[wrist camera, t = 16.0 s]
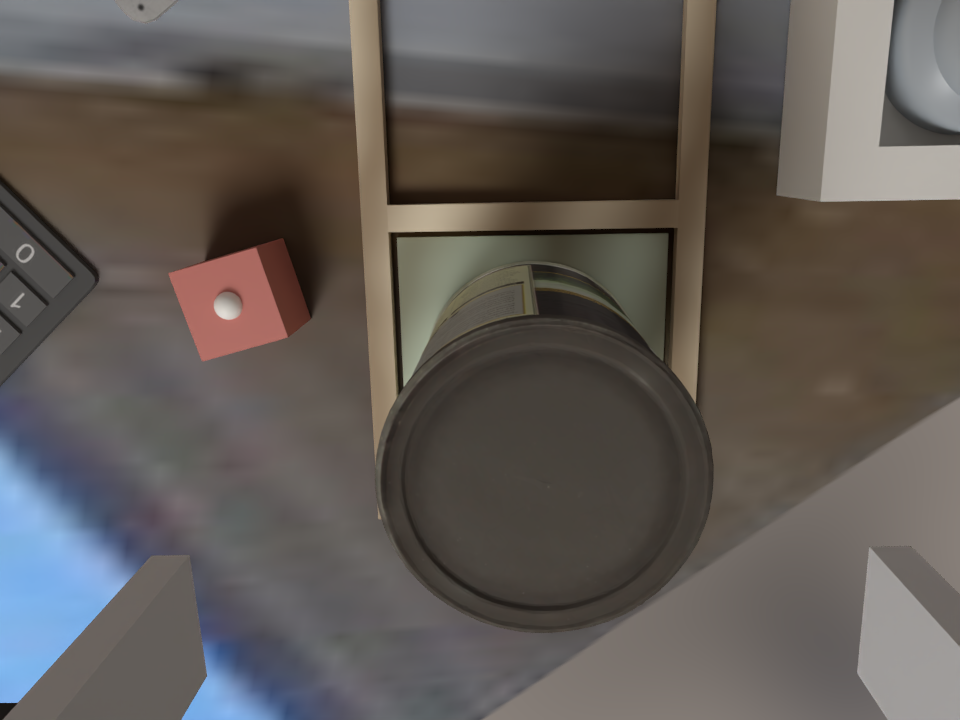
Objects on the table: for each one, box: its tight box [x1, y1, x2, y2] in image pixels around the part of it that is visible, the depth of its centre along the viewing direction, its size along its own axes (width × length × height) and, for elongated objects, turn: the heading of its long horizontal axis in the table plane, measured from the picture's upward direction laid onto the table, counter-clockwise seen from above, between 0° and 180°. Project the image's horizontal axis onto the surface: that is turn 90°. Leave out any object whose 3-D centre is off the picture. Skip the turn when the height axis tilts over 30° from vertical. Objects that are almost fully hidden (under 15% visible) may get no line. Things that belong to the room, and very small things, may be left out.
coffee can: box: [375, 261, 713, 633], centre depth 31 cm, size 10×10×14 cm
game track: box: [349, 0, 717, 519], centre depth 35 cm, size 15×30×1 cm, turn 1°
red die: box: [168, 238, 311, 361], centre depth 35 cm, size 4×4×5 cm
